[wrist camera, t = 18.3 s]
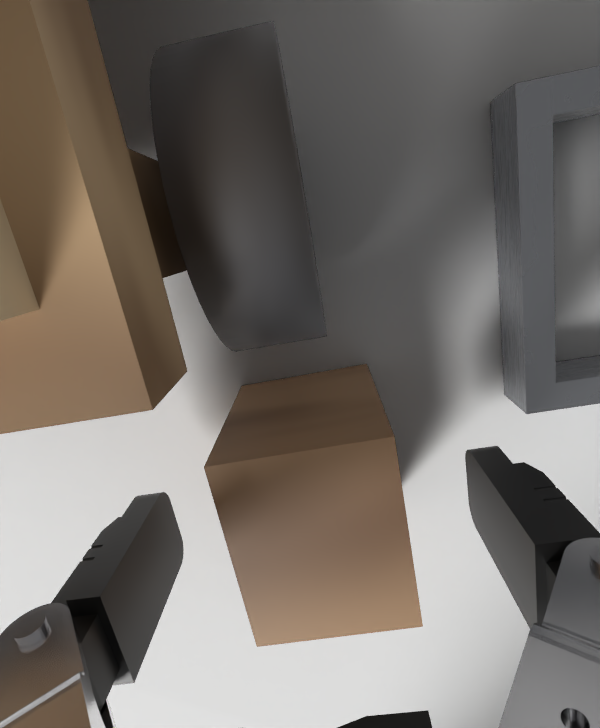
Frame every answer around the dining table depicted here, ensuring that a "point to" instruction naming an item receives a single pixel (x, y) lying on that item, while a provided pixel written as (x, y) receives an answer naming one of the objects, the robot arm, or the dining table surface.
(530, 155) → the square frame
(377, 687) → the dining table surface
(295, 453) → the block
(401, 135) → the dining table surface
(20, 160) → the trolley
